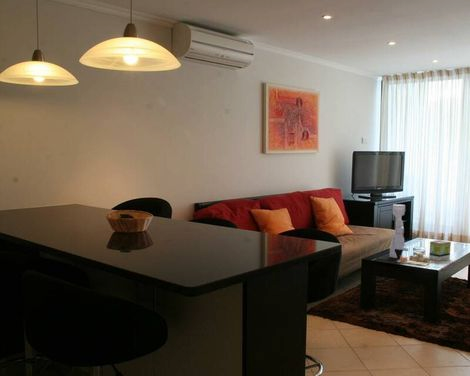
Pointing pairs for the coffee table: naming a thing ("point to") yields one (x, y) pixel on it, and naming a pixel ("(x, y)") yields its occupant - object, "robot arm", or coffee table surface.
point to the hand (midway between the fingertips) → (398, 258)
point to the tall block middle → (419, 257)
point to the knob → (403, 258)
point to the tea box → (439, 250)
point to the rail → (414, 263)
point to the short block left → (412, 258)
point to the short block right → (426, 260)
